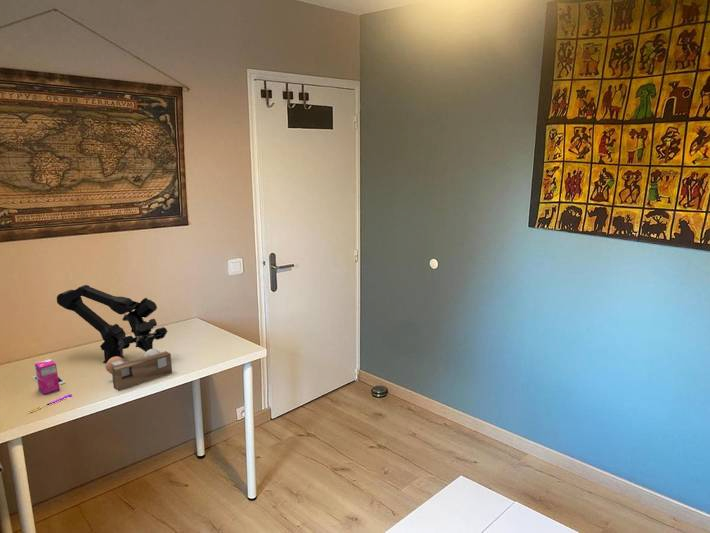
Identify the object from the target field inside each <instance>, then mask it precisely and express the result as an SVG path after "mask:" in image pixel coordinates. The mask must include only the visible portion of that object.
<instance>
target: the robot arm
mask: <svg viewBox="0 0 710 533" xmlns="http://www.w3.org/2000/svg"><path fill="white" fill-rule="evenodd" d="M82 297H84V298H86V299H89V300H92V301H94V302H97V303H99V304H102V305H105V306H107V307H108V308H109V309H111V310H112V311H113V312H115V313H116V314H118V315H123V317H122V319H121V320H122V321H123V322H128V324H129V326H130V328H131V330H130V331H131V333H133V335H134V337H133V336H132V335H127V336H126V331H125V330H124V328H123V327H121V326H120V325H119V324H118V323H114V324H113V325H112V324H110V323H108V322H107V321H106V320H104V319H103V318H102V317H101V316H100V315H98V314H97V313H96V312H94V310H93V309H91V308H90V307H89V306H88V305H86V304H85V303H84V301H83V299H82ZM56 302H57V304H58V305H59V306H61V307H62V308H63V309H65V310H68V311H72V312H75V313H76V314H77V315H78V316H79V317H80V318H81V319H82V320H84V321H85V322H86V323H87V324H89V325H90V326H91V327H93V329H95V331H98V333H99V334H100V336H101V338H102V341H103V343H101V345H99V347H100V349H101V350H102V351H103V355H104V360H103V362H102V363H103V364H107V362H108V360H109V359H110V358H112V357H115V356H118V357H121V358H122V359H123V360H124V358H125V357H124V349H128V348H129V347H131V344H134V343H135V348H138V349H141V350H142V351H143V352H145V353H146V352H147V351H148V350H149V349H154V348H153V345H154V344H153V343H154V340H156V341H158V340H162V339H164V338H165V337H166V335H167V333H168V330H167V328H166V327H165V326H162V327H158V328H156V329H155V330H154V332H152V329H154V328H155V327H156V326H157V325H158V323H157V320H156V319H155V318H150V319H149V320H148V321H146V320H144V319H145V318H148V317H149V316H151V315H152V314H153V313H154V312H155V311H156V310H157V309H158V306H157V304H156V302H154V301H153V300H152V299H148V298H147V297H144V298H143V299H142V300H141V301H140V302H137V301H135V300H132V298H129V297H125V296H119V295H117V296H116V295H115V296H114V295H112V294H109V293H107V292H104V291H102V290H99V289H97V288H94V287H91V286H90V285H88V284H84V285H82V286H79V287H77V288H76V289H68V290H66V291H64V292H61V293H59V294H58V295H57V296H56Z"/></svg>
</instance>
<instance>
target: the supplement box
mask: <svg viewBox="0 0 710 533" xmlns="http://www.w3.org/2000/svg"><path fill="white" fill-rule="evenodd" d="M34 369H35V376H37V381H36V382H37V389H38V391H39V392H40V393H41V394H42V396H45V395H49V394H52V392H53V393H55V392H59V391H60V390H61V389H60V385H59V381H58V377H59V375H58V370H57V363H56V362H55V361H54V360H52V359H51V358H48V359H46V360H42V361H37V362H34Z"/></svg>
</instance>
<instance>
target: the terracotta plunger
mask: <svg viewBox="0 0 710 533" xmlns="http://www.w3.org/2000/svg"><path fill="white" fill-rule="evenodd" d="M123 363H126V361H125V359H124V358H123V359H122V358H121V357H118V356H115V357H112V358H110V359H109V360H108V362H107V363H105V364H106V365H105V369H106V371H107V373H109V374H111V375H112V366H116V365H119V364H123ZM121 374H122V377H123V376H127V375H130V371H129V367H128V368H125V369H122V370H121Z"/></svg>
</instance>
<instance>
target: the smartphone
mask: <svg viewBox="0 0 710 533" xmlns="http://www.w3.org/2000/svg"><path fill="white" fill-rule="evenodd" d="M33 378H34V379H35V380H36V381H35V380H34V379H33ZM32 379H33V380H34V381H35V382H37V376H36V375H34V376H32ZM58 381H59V386H61V385H65V384H66V381H65V380H63V379H62V378H61V377H59V376H58Z"/></svg>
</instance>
